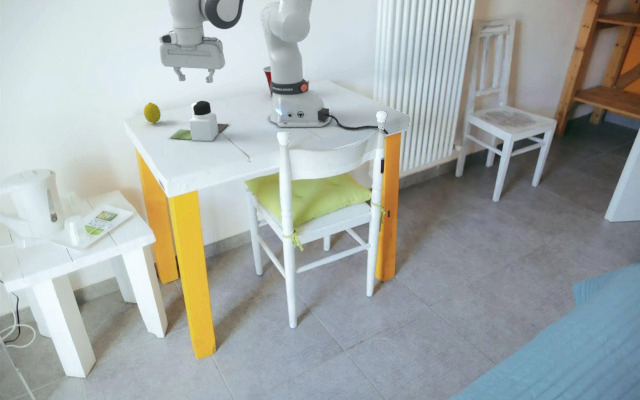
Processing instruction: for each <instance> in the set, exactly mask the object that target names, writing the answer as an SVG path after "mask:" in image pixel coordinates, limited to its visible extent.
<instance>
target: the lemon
mask: <svg viewBox="0 0 640 400" xmlns="http://www.w3.org/2000/svg"><path fill="white" fill-rule="evenodd" d="M161 115H162V113H161V110H160V108H159V106H158V105H157V104H156V103H153V102H148V103H147V104H145V106H144V107H143V116H144V118H145V120H146V121H147V122H148V123H152V124H153V125H156V123H157V122H159V121H160V119H161V117H162V116H161Z"/></svg>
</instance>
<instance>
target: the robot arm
mask: <svg viewBox="0 0 640 400" xmlns="http://www.w3.org/2000/svg"><path fill="white" fill-rule="evenodd" d="M244 2H245V1H244V0H168V7H169V11H170V14H171V17H172V30H170V31H168V32H166V33H164V34H161V35H160V36H159V37H158V40H159V43H160V45H159V56H160V61H161V64H162V65H163V66H164V67H167V68H168V67H169V68H173V72H174V73H175V74H176V75H177V77H178V81H179V82H185V81H187V79H186V74H183V72H182V71H181V69H182V68H183V69H185V68H186V69H203V70H207V73H209V74H208V76H206V77H205V80H206V81H205V82H206V83H207V84H212V83H213V82H214V78H213V77H214V74H215V72H216V70H222V69H223V68H224V67H225V65H226V60H225V59H226V58H225V55H224V50H223V49H224V47H223V42H222V41H221V40H220V39H219V38H217V36H216V37H215V36H213V37H212V36H211V37H210V36H205V30H204V22H209V23H211V25H212V26H214V27H215V28H217V29H220V30H229V29H231V28H233V27H235V26H237V24H238V23H239V21H240V20H241V17H242V14H243V8H244V7H243V5H244ZM312 4H313V0H279V1H272V2H269V3H267V4H265V5H264V6H263V7H262V8H261V10H260V13H259V21H260V24H261V27H262V30H263V34H264V35H263V36H264V39H265V43H266V48H267V51H268V57H269V66H270V67H271V79H272V80H271V84H270V88H271V92H270V95H271V111H270V115H269V120H270V121H271V123H273V124H276V125H278V127H280V128H322V127H324V126H327V125H328V124H329V123H330V121H331V120H332V119H333V120H334V121H335V123H336V124H337V125H338V126H339V127H340V128H342V129H344V130H361V129H379V128H378V125H362V126H356V127H355V126H344V125H342V124H341V123H340V121H339V120H338V118H337V117H336V116H334V115H332V113H331V112H330V108H327V107H326V106H325V102H324V100H323V99H322V98H320V97H319V96H318V95H317V94H315V93H314V92H313V91H312V90H310V88H309V87H310V86H309V85H310V80H309V79H308V80H306V79H305V78H304V77H303V76H304V75H303V57H302V53H301V51H300V48H299V44H298V43H300V42H303V41H304V40H305V39H306V38H307V37H308V35H309V34H310V29H311V22H310V15H311V9H312ZM382 131H383V132H384V133H385V134H386V135H389V132H388V131H387V130H386V128H384V130H382ZM390 217H391V210H387V218H390Z"/></svg>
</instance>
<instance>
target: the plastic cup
mask: <svg viewBox="0 0 640 400" xmlns="http://www.w3.org/2000/svg"><path fill="white" fill-rule="evenodd" d="M262 71H263V72H264V74H265V77H266V81H267V85H268V88H269V91H270V93H271V88H270V84H271V80H272V79H271V67H270V65H268V66H265V67H263V68H262Z"/></svg>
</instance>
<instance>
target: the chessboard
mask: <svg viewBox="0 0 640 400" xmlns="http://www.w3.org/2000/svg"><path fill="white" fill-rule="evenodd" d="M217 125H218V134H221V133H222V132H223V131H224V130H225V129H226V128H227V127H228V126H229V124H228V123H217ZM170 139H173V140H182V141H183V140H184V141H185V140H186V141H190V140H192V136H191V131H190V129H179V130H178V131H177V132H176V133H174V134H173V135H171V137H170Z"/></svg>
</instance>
